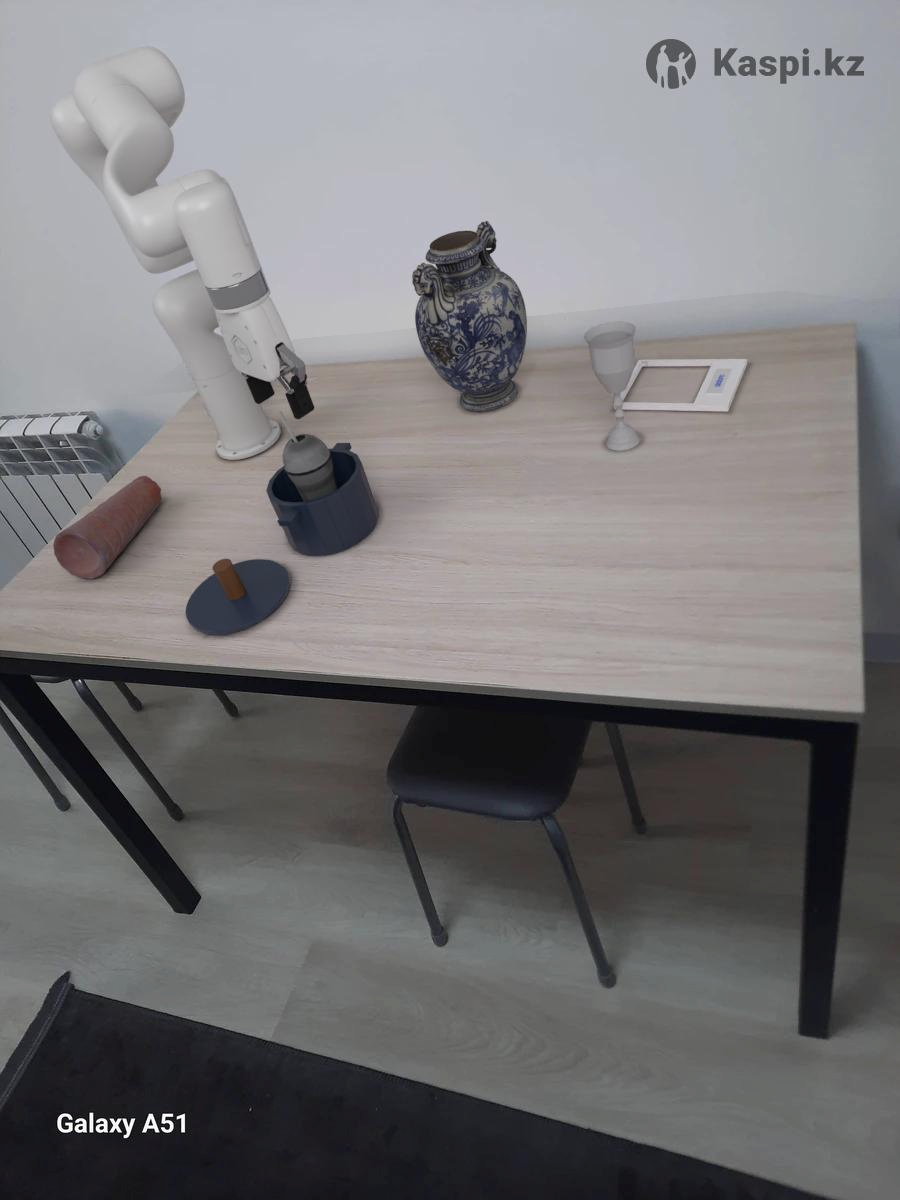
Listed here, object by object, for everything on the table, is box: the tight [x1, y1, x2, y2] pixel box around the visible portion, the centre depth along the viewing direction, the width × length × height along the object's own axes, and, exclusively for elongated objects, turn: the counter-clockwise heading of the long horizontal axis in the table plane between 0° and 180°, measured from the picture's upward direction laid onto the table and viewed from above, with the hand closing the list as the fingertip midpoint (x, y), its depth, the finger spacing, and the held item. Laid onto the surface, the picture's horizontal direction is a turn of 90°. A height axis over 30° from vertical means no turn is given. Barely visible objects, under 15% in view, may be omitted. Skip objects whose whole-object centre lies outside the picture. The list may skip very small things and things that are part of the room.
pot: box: [265, 442, 380, 557], centre depth 130 cm, size 15×20×10 cm
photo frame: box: [613, 358, 748, 413], centre depth 139 cm, size 15×1×18 cm
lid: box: [185, 558, 291, 636], centre depth 123 cm, size 16×16×7 cm
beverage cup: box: [277, 410, 338, 502], centre depth 127 cm, size 7×7×20 cm
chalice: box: [583, 320, 641, 452], centre depth 126 cm, size 7×7×18 cm
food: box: [52, 475, 162, 580], centre depth 143 cm, size 21×9×9 cm, turn 166°
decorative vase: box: [411, 220, 528, 413], centre depth 144 cm, size 21×19×28 cm
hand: (284, 406), depth 120 cm, fingers open, 9 cm apart
